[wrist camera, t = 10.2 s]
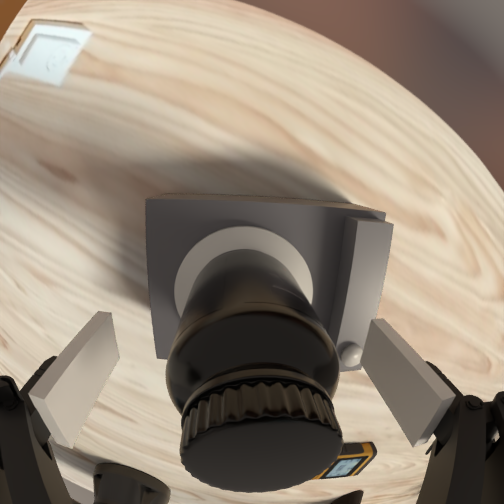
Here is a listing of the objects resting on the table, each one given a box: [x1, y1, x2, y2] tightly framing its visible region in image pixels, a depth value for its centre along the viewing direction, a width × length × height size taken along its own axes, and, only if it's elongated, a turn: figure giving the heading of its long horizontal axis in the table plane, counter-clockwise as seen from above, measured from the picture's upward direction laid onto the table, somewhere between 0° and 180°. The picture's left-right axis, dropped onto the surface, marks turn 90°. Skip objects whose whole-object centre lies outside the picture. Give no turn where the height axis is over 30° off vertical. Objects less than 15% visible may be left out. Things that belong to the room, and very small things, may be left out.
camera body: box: [146, 194, 394, 372], centre depth 20 cm, size 16×12×9 cm
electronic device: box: [311, 442, 377, 480], centre depth 32 cm, size 8×16×3 cm, turn 75°
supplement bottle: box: [166, 250, 344, 493], centre depth 12 cm, size 7×7×12 cm
